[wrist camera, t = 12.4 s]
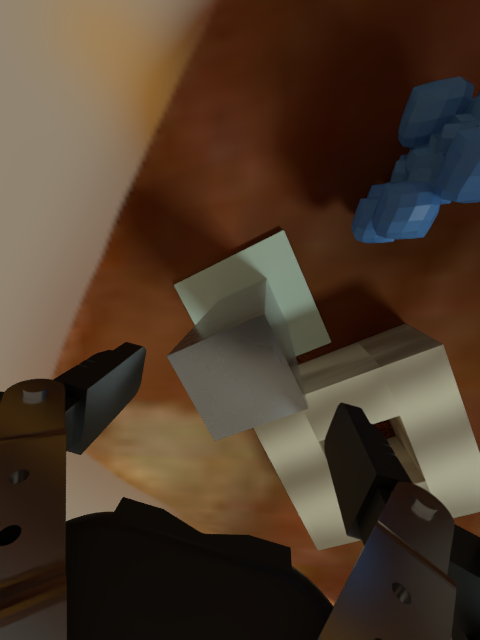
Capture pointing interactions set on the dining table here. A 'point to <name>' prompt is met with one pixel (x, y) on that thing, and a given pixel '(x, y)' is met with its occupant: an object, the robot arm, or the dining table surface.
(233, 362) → the peg
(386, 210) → the grapes
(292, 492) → the holder
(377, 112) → the dining table surface
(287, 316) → the mat
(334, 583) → the dining table surface
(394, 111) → the dining table surface
